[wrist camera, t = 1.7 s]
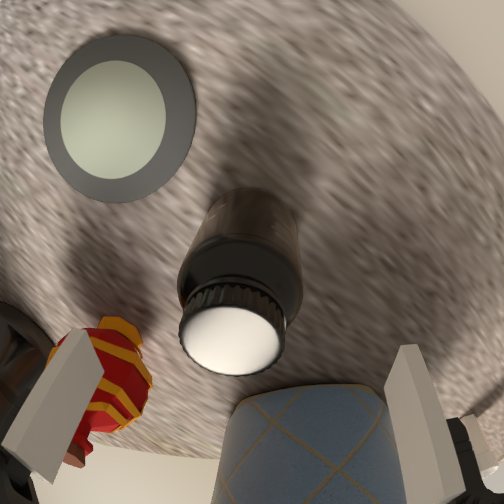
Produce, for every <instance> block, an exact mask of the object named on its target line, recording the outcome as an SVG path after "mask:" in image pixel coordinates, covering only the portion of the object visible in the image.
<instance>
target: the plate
mask: <svg viewBox="0 0 504 504" xmlns="http://www.w3.org/2000/svg"><path fill="white" fill-rule="evenodd" d="M195 126H196V102H195V96H194V92H193V87H192V85H191V82H190V80H189V77H188V75H187V73H186V72H185V70H184V68H183V66H182V65H181V64H180V63H179V61H178V60H177V59H176V58H175V57H174V56H173V55H172V54H171V53H170V52H169V51H168V50H167V49H165V48H164V47H162V46H161V45H159V44H157V43H155V42H153V41H151V40H148V39H145V38H142V37H138V36H132V35H113V36H108V37H104V38H101V39H98V40H95V41H93V42H91V43H89V44H87V45H85V46H84V47H82V48H81V49H80V50H78V51H77V52H76V53H75V54H73V55H72V56H71V57H70V58H69V59H68V60H67V61H66V62H65V64H64V65H63V66H62V67H61V69H60V70H59V72H58V73H57V75H56V77H55V78H54V80H53V82H52V84H51V87H50V89H49V92H48V95H47V98H46V102H45V108H44V117H43V128H44V137H45V143H46V146H47V150H48V153H49V155H50V158H51V160H52V162H53V164H54V166H55V167H56V169H57V171H58V172H59V173H60V175H61V176H62V177H63V178H64V179H65V181H66V182H67V183H68V184H69V185H71V186H72V187H73V188H74V189H75V190H77V191H78V192H80V193H81V194H83V195H85V196H87V197H89V198H91V199H94V200H98V201H101V202H107V203H126V202H131V201H135V200H139V199H141V198H143V197H146V196H148V195H150V194H151V193H153V192H155V191H156V190H158V189H159V188H160V187H161V186H163V185H164V184H165V183H166V182H167V181H168V180H169V179H170V178H171V177H172V176H173V175H174V174H175V173H176V171H177V170H178V169H179V167H180V166H181V165H182V163H183V161H184V159H185V158H186V156H187V154H188V151H189V149H190V147H191V144H192V140H193V137H194V133H195Z"/></svg>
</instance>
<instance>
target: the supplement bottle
mask: <svg viewBox="0 0 504 504" xmlns="http://www.w3.org/2000/svg"><path fill="white" fill-rule="evenodd" d="M177 293H178V298H179V301H180V304H181V307H182V309H183V316H182V319H181V321H180V324H179V333H178V336H179V338H180V344H181V345H182V346H183V350H184V351H185V352H186V353H187V356H188V357H189V358H191V359H192V360H193V362H194V363H197V364H198V365H199V366H200V367H202V368H205V369H207V370H208V371H210V372H215V373H217V374H221V375H225V376H235V377H239V376H249V375H255V374H257V373H260V372H264V371H265V370H266V369H269V368H271V366H272V365H273V364H275V363H277V360H278V359H279V358H280V357H281V355H282V352H283V351H284V348H285V334H286V330H287V327H288V326H289V325H290V324H291V323H292V322H293V320H294V319H295V318H296V316H297V314H298V312H299V310H300V307H301V304H302V300H303V278H302V269H301V260H300V252H299V244H298V235H297V229H296V223H295V220H294V217H293V215H292V213H291V211H290V209H289V208H288V206H287V205H286V204H285V203H284V202H283V201H282V200H281V199H280V198H278V197H277V196H275V195H274V194H272V193H270V192H268V191H265V190H262V189H257V188H241V189H237V190H233V191H231V192H228V193H226V194H225V195H223V196H222V197H220V198H219V199H218V200H217V201H216V202H215V203H214V204H213V205H212V207H211V208H210V210H209V212H208V213H207V215H206V217H205V219H204V221H203V223H202V225H201V227H200V229H199V231H198V233H197V235H196V237H195V239H194V241H193V243H192V245H191V247H190V249H189V251H188V253H187V255H186V257H185V259H184V261H183V263H182V265H181V268H180V271H179V274H178V279H177Z"/></svg>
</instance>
